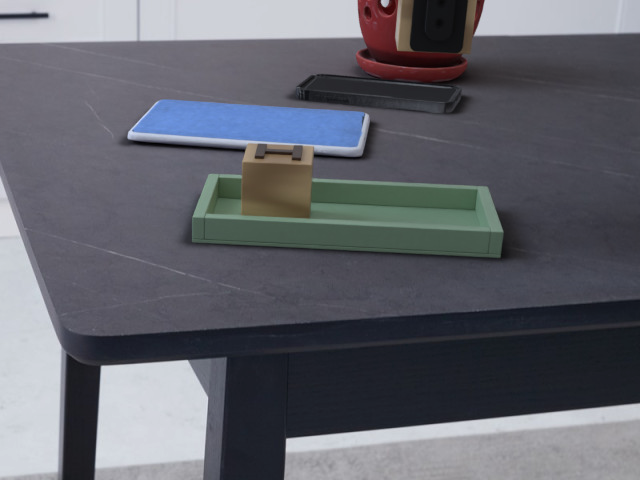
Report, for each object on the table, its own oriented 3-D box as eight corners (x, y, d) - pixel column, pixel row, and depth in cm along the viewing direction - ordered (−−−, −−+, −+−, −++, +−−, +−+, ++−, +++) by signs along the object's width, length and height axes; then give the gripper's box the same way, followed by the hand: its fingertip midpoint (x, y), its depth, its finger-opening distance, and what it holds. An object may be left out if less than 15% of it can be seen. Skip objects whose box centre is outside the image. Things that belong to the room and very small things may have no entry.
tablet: (370, 124, 103) (371, 109, 102) (361, 163, 92) (362, 147, 91) (158, 111, 105) (157, 97, 105) (124, 148, 94) (124, 132, 94)
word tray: (484, 213, 81) (487, 186, 80) (499, 262, 73) (504, 231, 72) (208, 200, 83) (208, 173, 82) (191, 246, 74) (191, 216, 73)
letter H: (310, 210, 80) (314, 142, 77) (308, 231, 76) (312, 161, 73) (246, 206, 80) (247, 139, 78) (240, 228, 76) (242, 158, 74)
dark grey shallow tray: (314, 73, 116) (463, 85, 112) (313, 84, 116) (462, 97, 112) (292, 89, 109) (451, 103, 105) (292, 101, 110) (450, 115, 106)
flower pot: (403, 95, 113) (414, -34, 108) (327, 69, 123) (334, -50, 118) (503, 82, 119) (519, -40, 114) (423, 59, 129) (434, -55, 124)
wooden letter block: (464, 41, 75) (473, -36, 73) (470, 54, 71) (480, -27, 69) (395, 37, 75) (401, -39, 73) (397, 51, 71) (404, -30, 69)
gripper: (558, -303, 57) (508, 74, 65) (517, -281, 72) (480, 23, 80) (405, -307, 57) (375, 67, 66) (395, -285, 72) (372, 18, 81)
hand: (433, 40), depth 73 cm, fingers closed on wooden letter block, 4 cm apart
